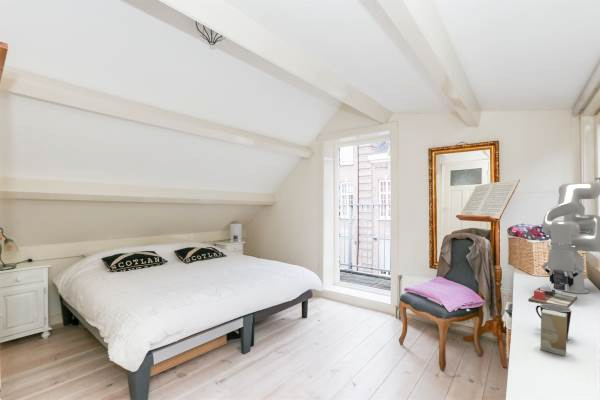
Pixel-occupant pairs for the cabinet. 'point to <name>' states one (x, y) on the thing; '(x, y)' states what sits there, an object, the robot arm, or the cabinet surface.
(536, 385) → the cabinet surface
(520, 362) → the cabinet surface
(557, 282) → the pill bottle
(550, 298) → the game board
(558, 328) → the skincare box
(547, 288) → the dome
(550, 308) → the coffee mug
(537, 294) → the red die
